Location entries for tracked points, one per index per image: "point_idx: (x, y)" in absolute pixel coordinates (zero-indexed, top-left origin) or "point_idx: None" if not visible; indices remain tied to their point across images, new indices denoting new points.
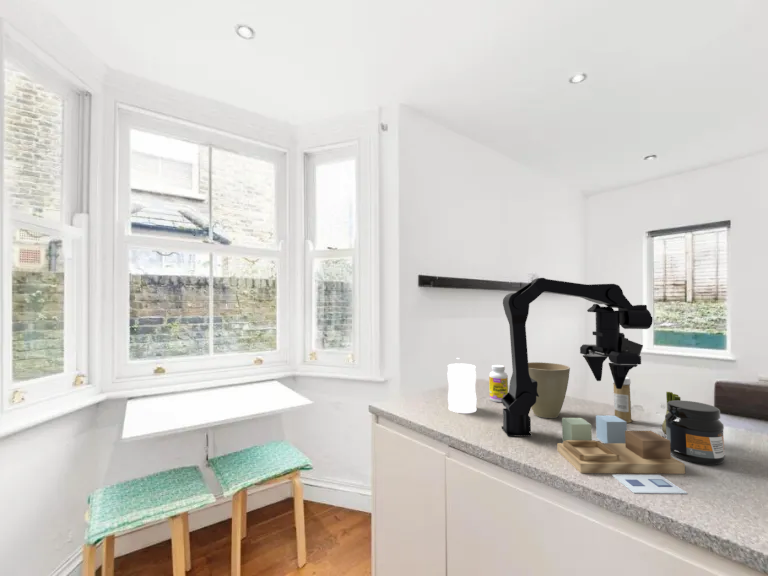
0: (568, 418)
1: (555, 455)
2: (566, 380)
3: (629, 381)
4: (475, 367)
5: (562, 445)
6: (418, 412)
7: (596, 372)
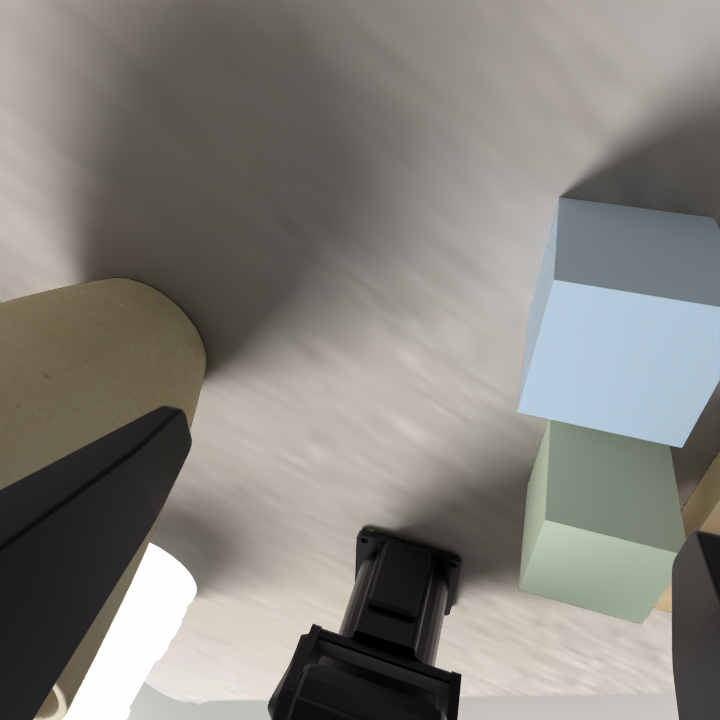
0: (536, 573)
1: None
2: None
3: None
4: None
5: None
6: (212, 663)
7: (112, 548)
